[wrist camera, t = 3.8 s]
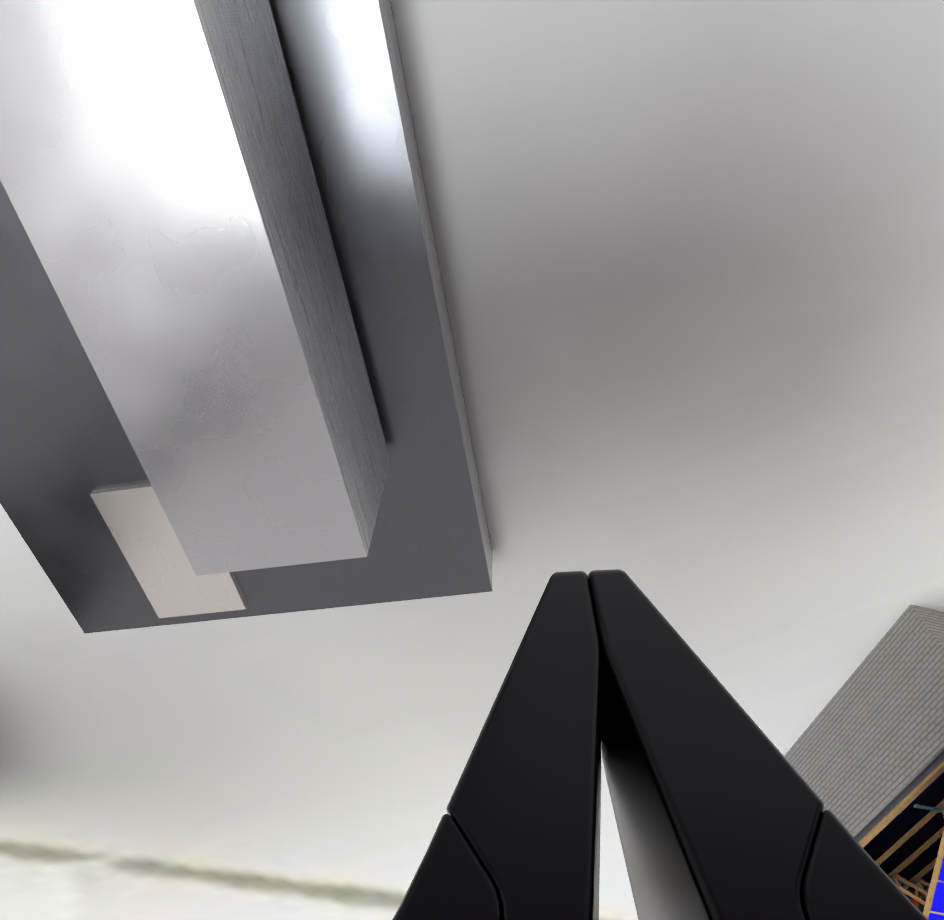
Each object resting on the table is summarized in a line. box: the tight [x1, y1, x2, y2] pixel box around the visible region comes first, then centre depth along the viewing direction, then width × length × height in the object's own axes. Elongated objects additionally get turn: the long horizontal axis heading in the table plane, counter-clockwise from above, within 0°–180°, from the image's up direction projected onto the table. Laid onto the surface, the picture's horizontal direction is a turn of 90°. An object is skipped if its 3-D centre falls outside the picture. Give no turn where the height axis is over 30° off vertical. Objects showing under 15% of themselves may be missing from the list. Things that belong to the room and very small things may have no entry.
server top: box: [0, 0, 492, 633], centre depth 16 cm, size 24×14×2 cm, turn 9°
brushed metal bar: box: [0, 0, 390, 576], centre depth 13 cm, size 18×4×6 cm, turn 9°
